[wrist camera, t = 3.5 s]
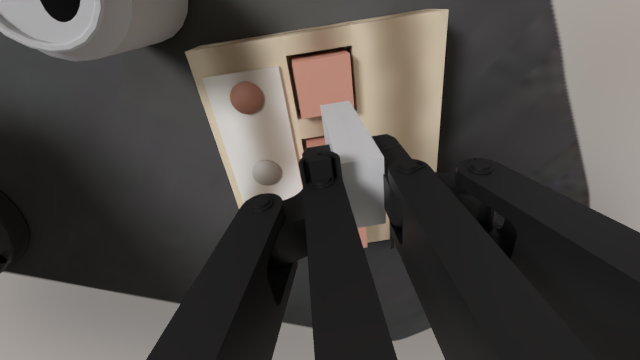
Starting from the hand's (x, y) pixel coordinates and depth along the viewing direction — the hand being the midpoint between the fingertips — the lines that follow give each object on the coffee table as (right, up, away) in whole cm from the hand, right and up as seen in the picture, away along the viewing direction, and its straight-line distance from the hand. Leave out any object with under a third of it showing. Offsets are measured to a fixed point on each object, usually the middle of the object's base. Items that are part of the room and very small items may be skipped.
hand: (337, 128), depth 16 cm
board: (0, +1, +16) cm, 16 cm away
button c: (-1, +6, +11) cm, 13 cm away
